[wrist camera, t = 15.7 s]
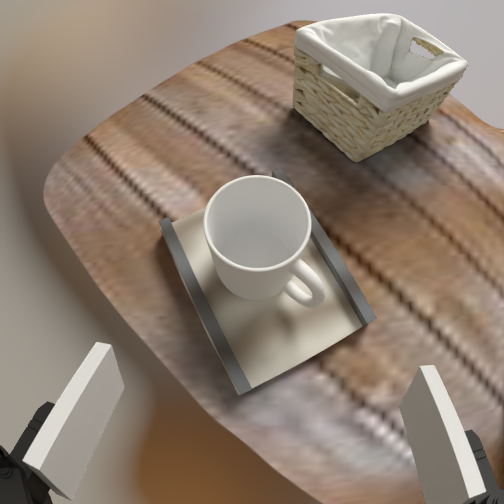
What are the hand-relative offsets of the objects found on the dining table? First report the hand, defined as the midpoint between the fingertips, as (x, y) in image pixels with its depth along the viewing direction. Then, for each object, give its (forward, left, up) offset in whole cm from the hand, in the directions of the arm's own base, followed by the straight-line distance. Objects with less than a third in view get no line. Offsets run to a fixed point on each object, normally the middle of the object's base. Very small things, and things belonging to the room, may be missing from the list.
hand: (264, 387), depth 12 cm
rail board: (+9, -6, -20) cm, 22 cm away
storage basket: (+25, -34, -20) cm, 47 cm away
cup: (+9, -6, -18) cm, 21 cm away
